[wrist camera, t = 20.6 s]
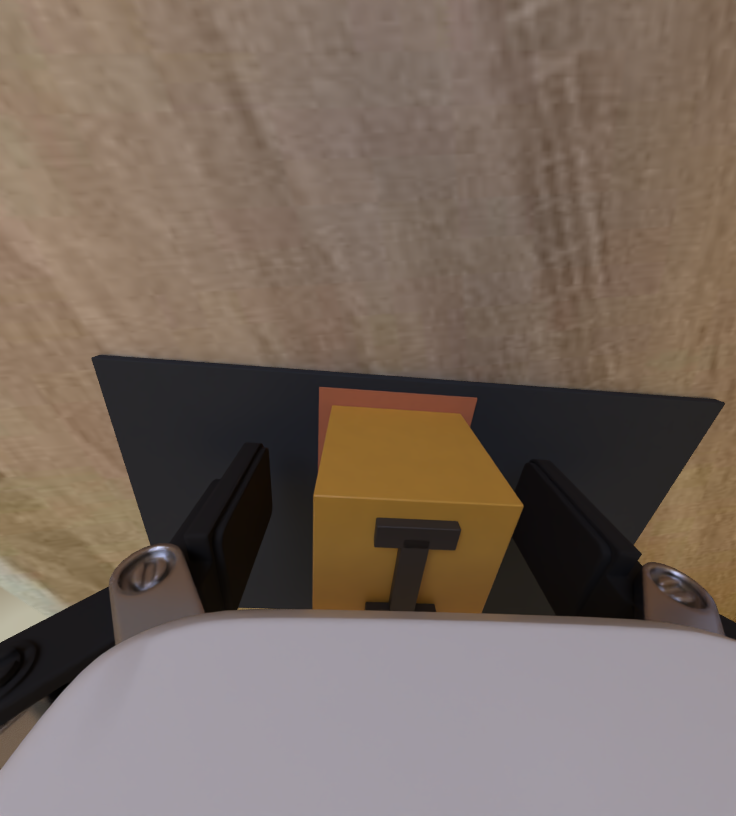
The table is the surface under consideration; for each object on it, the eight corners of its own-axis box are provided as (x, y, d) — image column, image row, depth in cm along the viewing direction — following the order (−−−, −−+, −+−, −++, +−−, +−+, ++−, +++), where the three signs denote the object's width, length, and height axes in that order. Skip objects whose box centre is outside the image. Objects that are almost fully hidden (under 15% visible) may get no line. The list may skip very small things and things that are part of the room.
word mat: (99, 354, 11) (87, 358, 10) (715, 398, 12) (729, 403, 12) (173, 598, 17) (168, 608, 16) (582, 610, 18) (588, 619, 18)
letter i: (331, 404, 11) (310, 504, 7) (460, 413, 12) (531, 515, 7) (328, 505, 13) (310, 637, 9) (437, 510, 14) (479, 641, 9)
